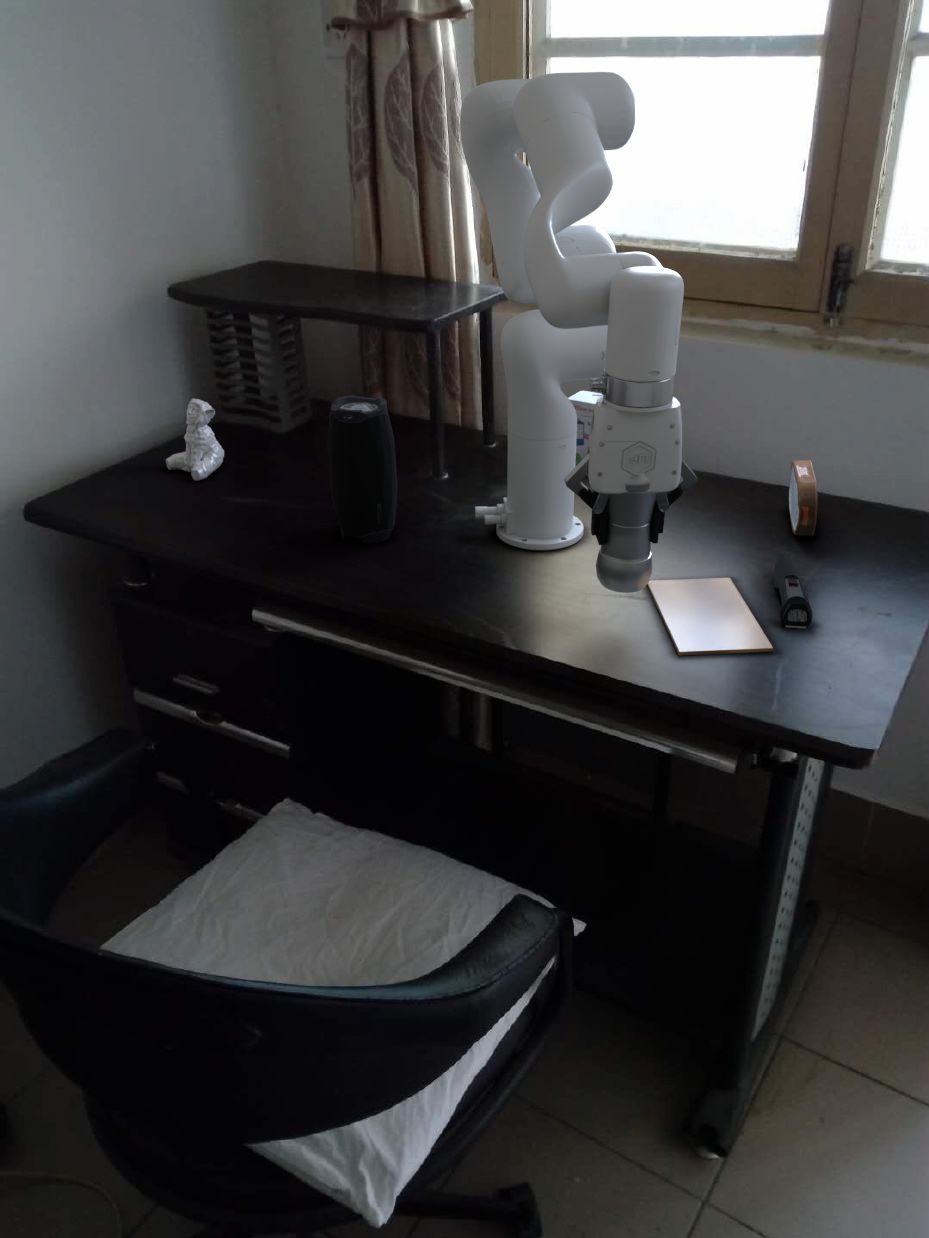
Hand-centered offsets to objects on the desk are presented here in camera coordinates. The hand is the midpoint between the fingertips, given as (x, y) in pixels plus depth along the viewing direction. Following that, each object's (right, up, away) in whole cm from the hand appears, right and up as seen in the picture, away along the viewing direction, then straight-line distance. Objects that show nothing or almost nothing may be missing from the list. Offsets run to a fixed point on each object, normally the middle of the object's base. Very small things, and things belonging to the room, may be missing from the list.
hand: (626, 537), depth 118 cm
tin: (+30, +4, +30) cm, 42 cm away
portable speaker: (-33, +3, +29) cm, 44 cm away
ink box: (+3, +16, +51) cm, 54 cm away
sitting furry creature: (-64, +16, +53) cm, 84 cm away
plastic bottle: (0, -6, +4) cm, 7 cm away
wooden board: (+11, -9, +6) cm, 15 cm away
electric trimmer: (+22, -7, +10) cm, 25 cm away
